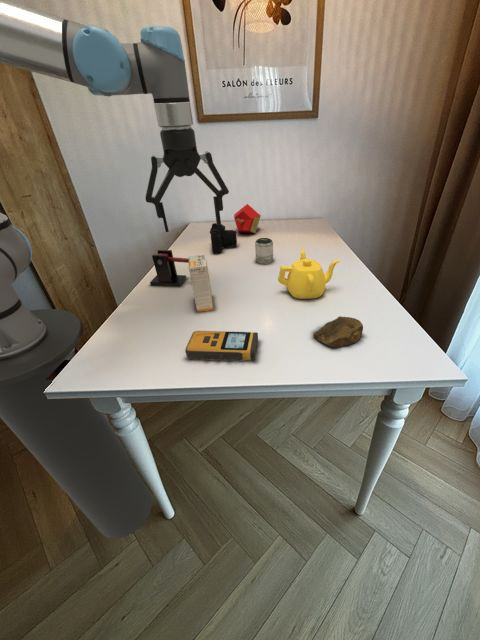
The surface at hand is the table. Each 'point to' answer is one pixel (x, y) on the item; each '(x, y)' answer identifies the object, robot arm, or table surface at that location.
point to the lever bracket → (166, 271)
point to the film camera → (222, 238)
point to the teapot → (306, 277)
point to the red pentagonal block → (247, 219)
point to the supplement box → (200, 282)
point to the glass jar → (264, 250)
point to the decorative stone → (340, 332)
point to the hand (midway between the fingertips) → (193, 227)
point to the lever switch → (176, 258)
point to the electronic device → (222, 345)
